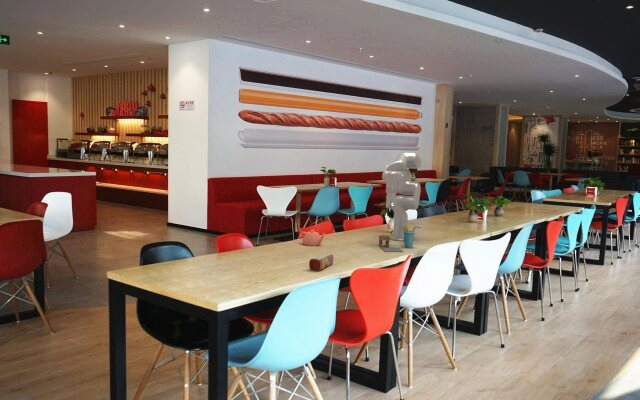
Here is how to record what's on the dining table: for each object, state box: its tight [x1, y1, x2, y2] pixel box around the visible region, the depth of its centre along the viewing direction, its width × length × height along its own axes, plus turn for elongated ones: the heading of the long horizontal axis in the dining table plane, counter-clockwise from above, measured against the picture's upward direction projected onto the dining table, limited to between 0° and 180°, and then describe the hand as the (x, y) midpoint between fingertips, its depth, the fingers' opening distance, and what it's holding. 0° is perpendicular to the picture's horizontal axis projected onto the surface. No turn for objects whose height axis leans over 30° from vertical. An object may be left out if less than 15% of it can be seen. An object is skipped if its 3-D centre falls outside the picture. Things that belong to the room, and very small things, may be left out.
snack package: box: [308, 252, 334, 272], centre depth 301 cm, size 21×7×7 cm, turn 159°
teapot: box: [300, 229, 326, 247], centre depth 365 cm, size 12×18×10 cm
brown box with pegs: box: [378, 234, 391, 248], centre depth 371 cm, size 6×6×7 cm
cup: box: [403, 225, 421, 249], centre depth 371 cm, size 14×8×15 cm, turn 50°
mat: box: [380, 246, 404, 253], centre depth 360 cm, size 12×12×1 cm
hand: (390, 216), depth 367 cm, fingers open, 9 cm apart
